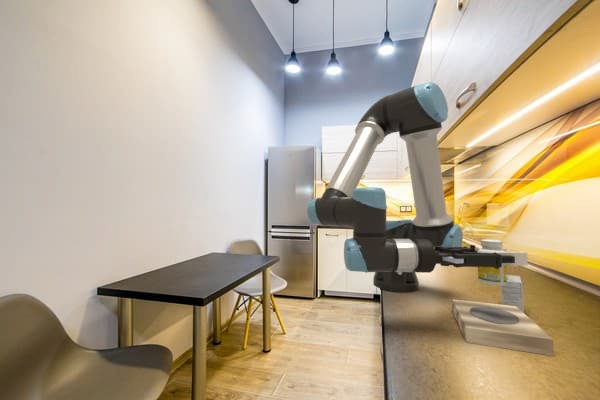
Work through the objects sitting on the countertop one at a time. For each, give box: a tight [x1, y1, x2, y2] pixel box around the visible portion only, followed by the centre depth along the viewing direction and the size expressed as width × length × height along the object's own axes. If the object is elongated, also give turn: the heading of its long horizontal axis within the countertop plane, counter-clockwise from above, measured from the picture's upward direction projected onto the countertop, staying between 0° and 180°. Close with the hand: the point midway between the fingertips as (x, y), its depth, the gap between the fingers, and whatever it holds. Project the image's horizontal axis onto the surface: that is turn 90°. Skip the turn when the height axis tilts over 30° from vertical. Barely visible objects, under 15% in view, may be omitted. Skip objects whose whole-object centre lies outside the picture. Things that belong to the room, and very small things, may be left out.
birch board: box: [451, 299, 555, 357], centre depth 61 cm, size 18×14×3 cm
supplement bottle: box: [477, 239, 508, 287], centre depth 61 cm, size 5×5×10 cm
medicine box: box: [500, 274, 525, 314], centre depth 72 cm, size 8×4×9 cm, turn 143°
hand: (514, 256), depth 61 cm, fingers closed on supplement bottle, 5 cm apart
